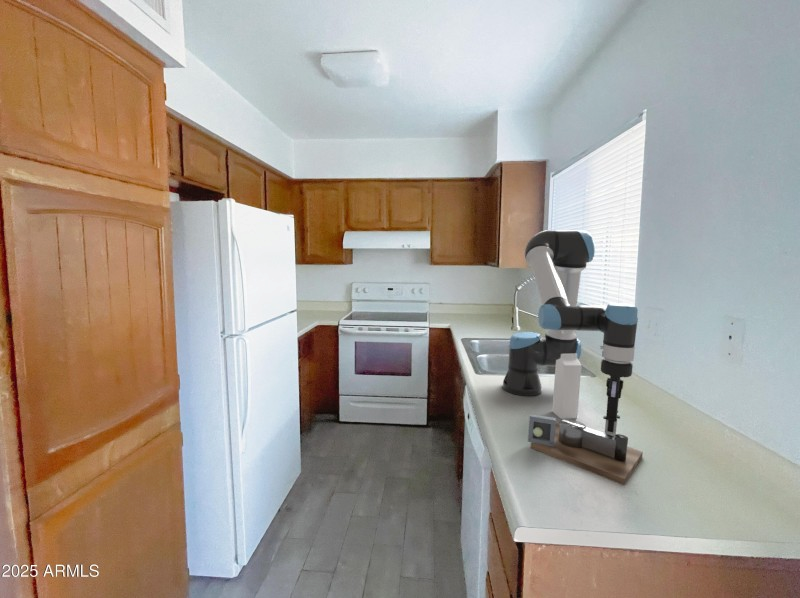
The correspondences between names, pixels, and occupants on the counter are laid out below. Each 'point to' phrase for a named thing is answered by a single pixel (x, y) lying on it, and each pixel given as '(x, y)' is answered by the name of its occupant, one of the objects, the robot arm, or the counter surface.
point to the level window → (541, 430)
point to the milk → (566, 386)
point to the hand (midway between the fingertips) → (609, 440)
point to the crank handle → (592, 439)
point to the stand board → (592, 459)
